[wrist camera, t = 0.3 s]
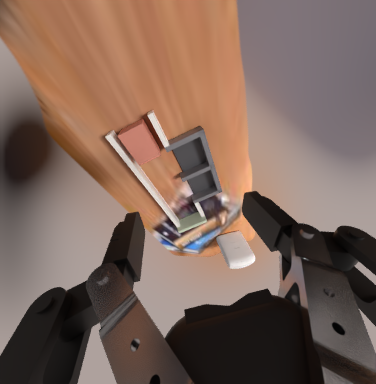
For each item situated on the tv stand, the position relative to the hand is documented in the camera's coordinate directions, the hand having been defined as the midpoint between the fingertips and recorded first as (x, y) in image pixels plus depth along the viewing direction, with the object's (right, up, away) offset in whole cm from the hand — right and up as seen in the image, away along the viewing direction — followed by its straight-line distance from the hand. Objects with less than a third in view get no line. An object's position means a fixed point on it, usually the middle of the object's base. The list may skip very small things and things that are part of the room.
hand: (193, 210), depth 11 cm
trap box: (-2, +5, +24) cm, 24 cm away
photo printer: (+16, -16, +46) cm, 51 cm away
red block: (-9, +12, +17) cm, 22 cm away
